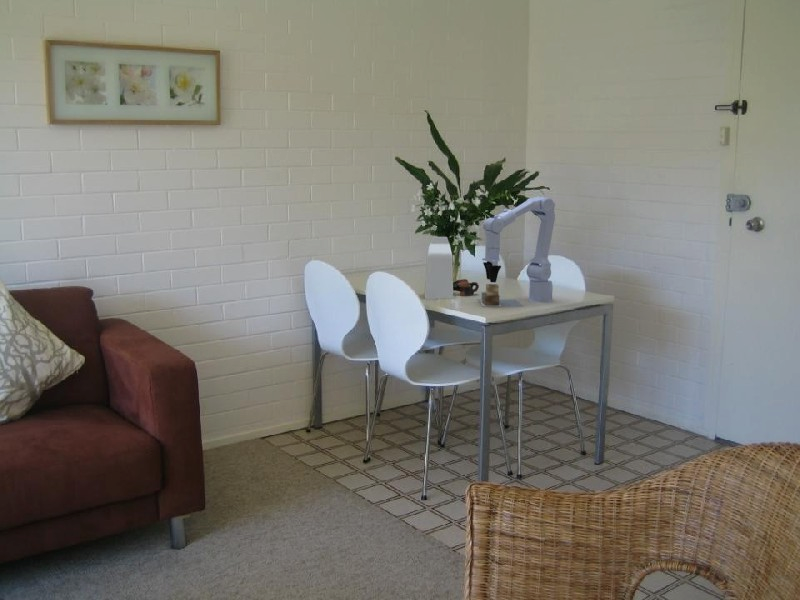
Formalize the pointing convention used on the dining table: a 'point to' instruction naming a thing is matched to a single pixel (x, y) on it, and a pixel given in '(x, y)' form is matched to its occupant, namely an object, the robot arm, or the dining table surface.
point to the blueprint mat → (504, 303)
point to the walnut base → (490, 300)
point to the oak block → (492, 289)
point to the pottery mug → (465, 287)
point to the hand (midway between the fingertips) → (491, 280)
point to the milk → (439, 270)
